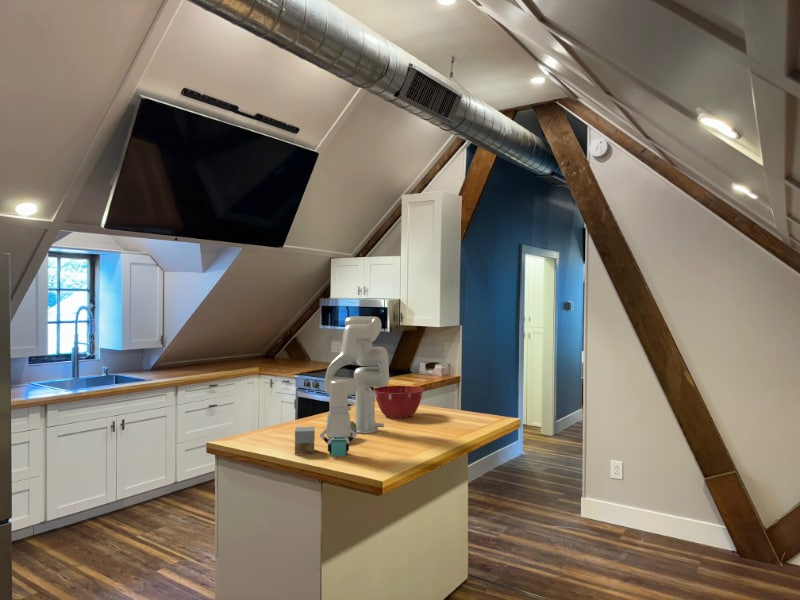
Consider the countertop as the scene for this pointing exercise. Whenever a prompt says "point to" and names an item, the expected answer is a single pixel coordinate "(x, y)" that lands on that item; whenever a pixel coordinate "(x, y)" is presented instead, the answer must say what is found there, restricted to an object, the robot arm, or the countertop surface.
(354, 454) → the countertop surface
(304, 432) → the block
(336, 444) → the teal cube
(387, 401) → the mixing bowl
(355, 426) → the tin
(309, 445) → the tower base
